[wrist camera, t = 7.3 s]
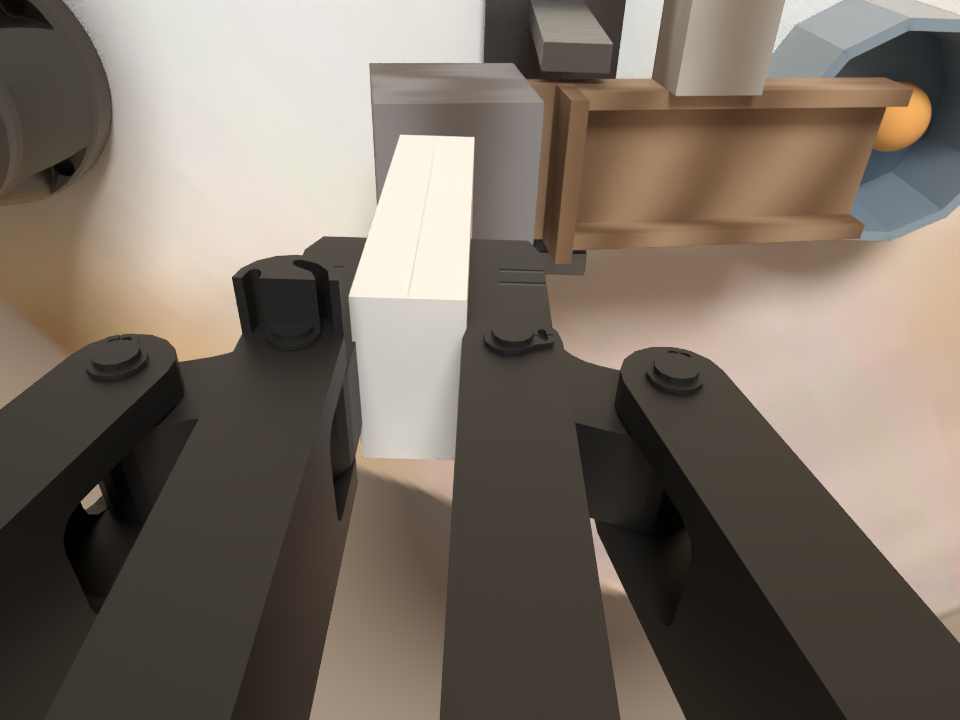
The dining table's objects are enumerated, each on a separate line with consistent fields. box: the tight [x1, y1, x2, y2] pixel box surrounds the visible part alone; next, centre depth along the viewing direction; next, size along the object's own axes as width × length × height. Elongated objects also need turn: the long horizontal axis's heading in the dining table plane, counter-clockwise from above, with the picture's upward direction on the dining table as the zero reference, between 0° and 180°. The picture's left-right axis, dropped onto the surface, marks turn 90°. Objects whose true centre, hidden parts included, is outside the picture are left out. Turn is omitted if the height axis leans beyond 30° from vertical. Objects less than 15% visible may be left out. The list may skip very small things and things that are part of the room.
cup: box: [766, 0, 960, 241], centre depth 42 cm, size 12×12×7 cm
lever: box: [369, 0, 914, 264], centre depth 34 cm, size 25×14×7 cm, turn 88°
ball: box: [872, 82, 932, 152], centre depth 43 cm, size 4×4×4 cm
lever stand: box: [484, 0, 626, 275], centre depth 40 cm, size 8×13×14 cm, turn 178°
